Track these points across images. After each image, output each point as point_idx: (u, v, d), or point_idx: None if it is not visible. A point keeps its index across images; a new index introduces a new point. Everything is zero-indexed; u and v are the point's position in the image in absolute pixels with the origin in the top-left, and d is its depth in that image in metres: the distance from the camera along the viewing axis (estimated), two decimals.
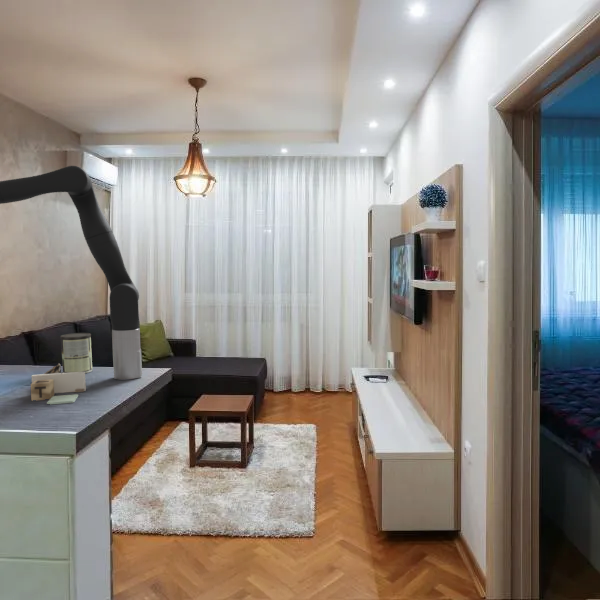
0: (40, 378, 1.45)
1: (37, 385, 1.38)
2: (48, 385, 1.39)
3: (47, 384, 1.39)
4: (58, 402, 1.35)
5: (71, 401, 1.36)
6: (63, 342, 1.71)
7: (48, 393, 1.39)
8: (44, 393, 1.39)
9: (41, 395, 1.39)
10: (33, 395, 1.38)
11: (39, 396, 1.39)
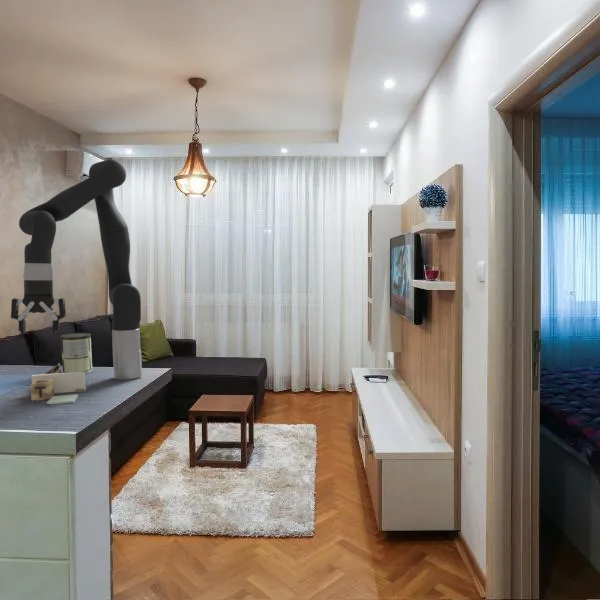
0: (40, 378, 1.45)
1: (37, 385, 1.38)
2: (48, 385, 1.39)
3: (47, 384, 1.39)
4: (58, 402, 1.35)
5: (71, 401, 1.36)
6: (63, 342, 1.71)
7: (48, 393, 1.39)
8: (44, 393, 1.39)
9: (41, 395, 1.39)
10: (33, 395, 1.38)
11: (39, 396, 1.39)
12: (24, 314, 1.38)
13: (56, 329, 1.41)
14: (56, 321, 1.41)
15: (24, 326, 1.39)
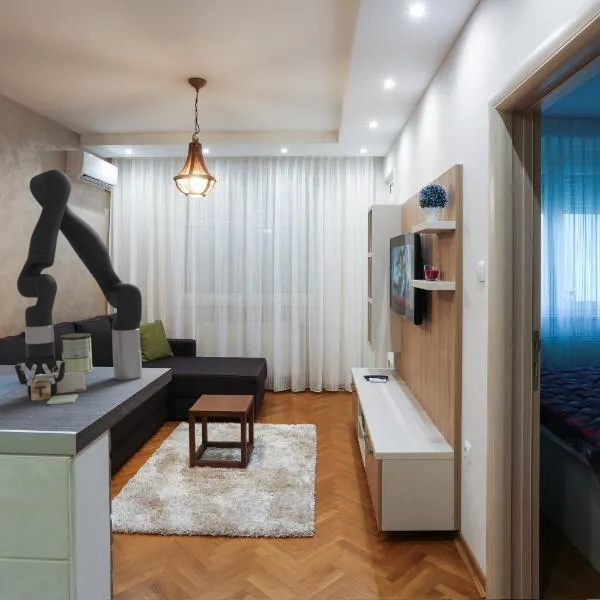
0: (40, 378, 1.45)
1: (37, 385, 1.38)
2: (48, 385, 1.39)
3: (47, 384, 1.39)
4: (58, 402, 1.35)
5: (71, 401, 1.36)
6: (63, 342, 1.71)
7: (48, 393, 1.39)
8: (44, 392, 1.39)
9: (41, 395, 1.39)
10: (33, 395, 1.38)
11: (39, 396, 1.39)
12: (31, 378, 1.39)
13: (54, 392, 1.41)
14: (54, 384, 1.41)
15: None
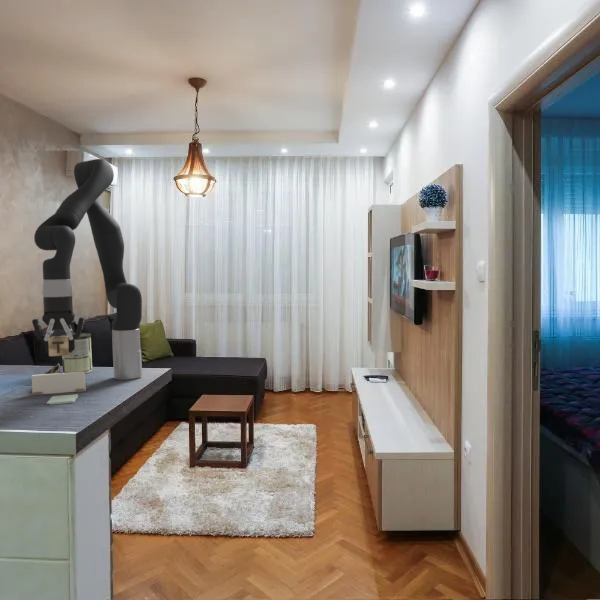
0: (40, 378, 1.45)
1: (55, 340, 1.34)
2: (66, 340, 1.35)
3: (65, 339, 1.35)
4: (58, 402, 1.35)
5: (71, 401, 1.36)
6: None
7: (66, 348, 1.35)
8: (62, 348, 1.35)
9: (59, 350, 1.35)
10: (51, 350, 1.34)
11: (57, 351, 1.35)
12: (49, 333, 1.35)
13: (72, 349, 1.37)
14: (72, 340, 1.37)
15: None
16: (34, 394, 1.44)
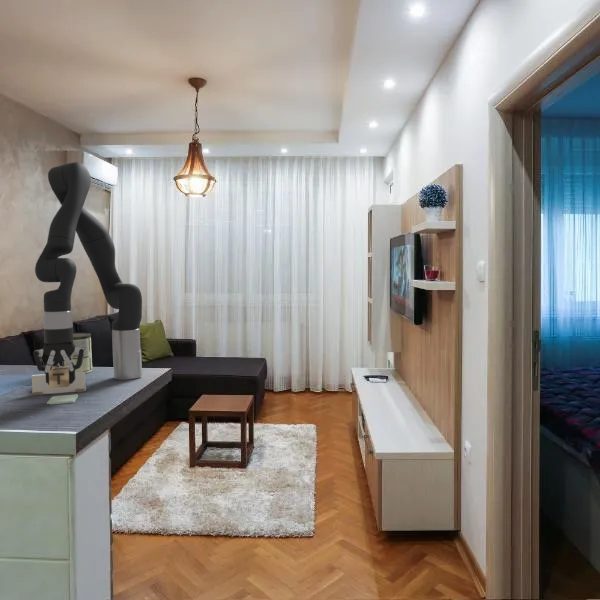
0: (40, 378, 1.45)
1: (55, 372, 1.35)
2: (66, 372, 1.36)
3: (65, 371, 1.36)
4: (58, 402, 1.35)
5: (71, 401, 1.36)
6: None
7: (66, 380, 1.36)
8: (63, 379, 1.36)
9: (59, 382, 1.35)
10: (51, 382, 1.35)
11: (57, 383, 1.35)
12: (49, 365, 1.35)
13: (72, 380, 1.38)
14: (72, 372, 1.38)
15: None
16: (34, 394, 1.44)
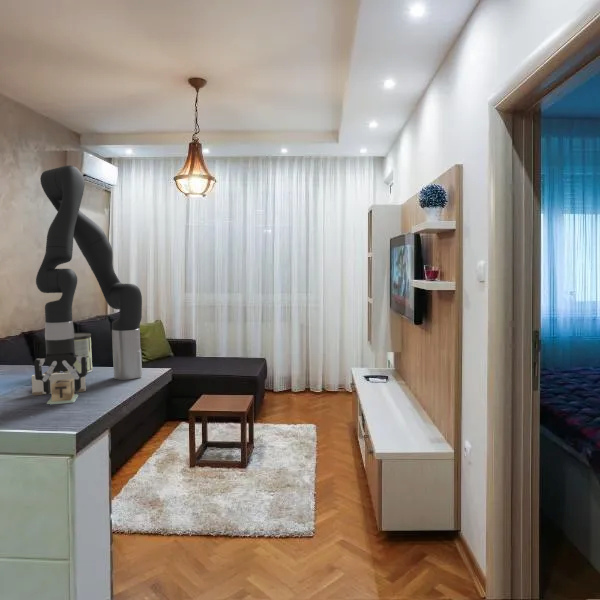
0: None
1: (58, 385, 1.35)
2: (69, 385, 1.36)
3: (68, 384, 1.36)
4: (58, 402, 1.35)
5: (71, 401, 1.36)
6: None
7: (69, 393, 1.36)
8: (65, 393, 1.36)
9: (62, 395, 1.36)
10: (53, 395, 1.35)
11: (60, 396, 1.36)
12: (48, 374, 1.35)
13: (78, 388, 1.39)
14: (78, 380, 1.38)
15: (49, 386, 1.37)
16: (34, 394, 1.44)
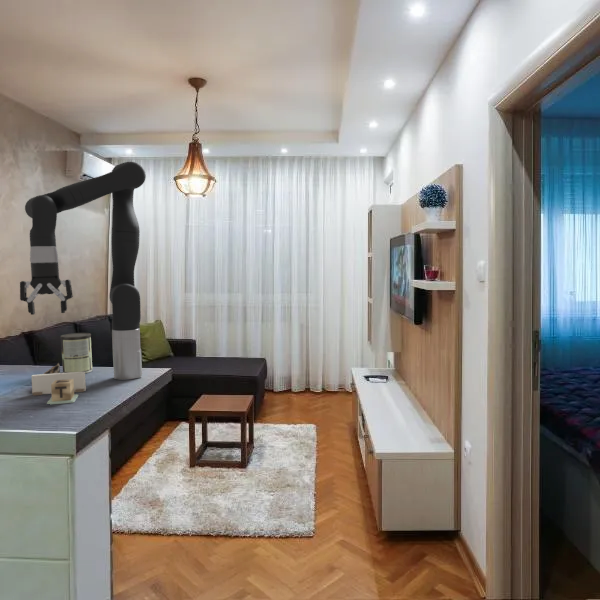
0: (40, 378, 1.45)
1: (58, 385, 1.35)
2: (69, 385, 1.36)
3: (68, 384, 1.36)
4: (58, 402, 1.35)
5: (71, 401, 1.36)
6: (63, 342, 1.71)
7: (69, 393, 1.36)
8: (65, 393, 1.36)
9: (62, 395, 1.36)
10: (53, 395, 1.35)
11: (60, 396, 1.36)
12: (33, 296, 1.43)
13: (64, 309, 1.47)
14: (64, 301, 1.47)
15: (33, 308, 1.45)
16: (34, 394, 1.44)
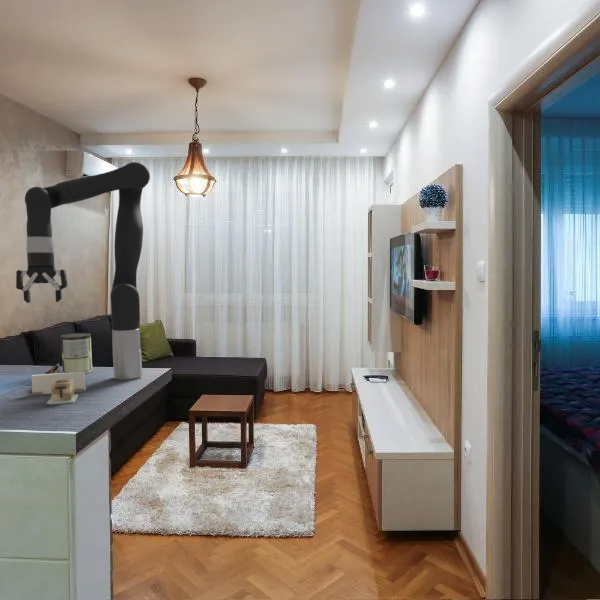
0: (40, 378, 1.45)
1: (58, 385, 1.35)
2: (69, 385, 1.36)
3: (68, 384, 1.36)
4: (58, 402, 1.35)
5: (71, 401, 1.36)
6: (63, 342, 1.71)
7: (69, 393, 1.36)
8: (65, 393, 1.36)
9: (62, 395, 1.36)
10: (53, 395, 1.35)
11: (60, 396, 1.36)
12: (28, 285, 1.48)
13: (59, 298, 1.51)
14: (58, 291, 1.51)
15: (29, 296, 1.49)
16: (34, 394, 1.44)
